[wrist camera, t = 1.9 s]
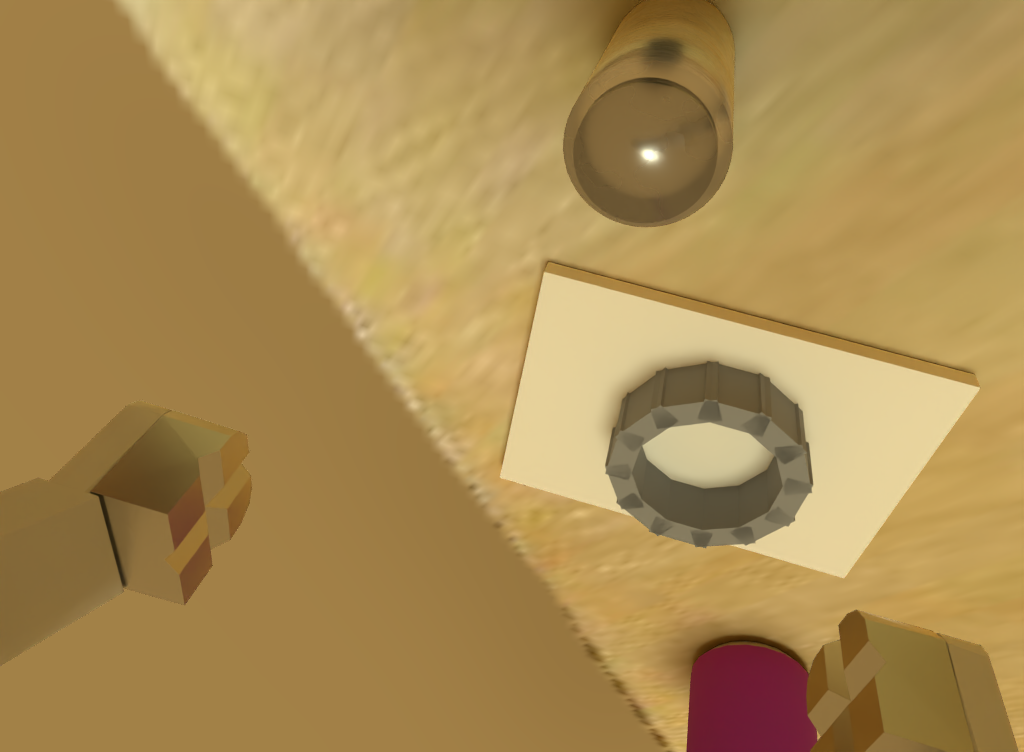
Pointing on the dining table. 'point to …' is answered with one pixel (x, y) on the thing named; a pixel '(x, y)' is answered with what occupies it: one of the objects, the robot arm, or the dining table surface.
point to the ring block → (722, 421)
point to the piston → (656, 115)
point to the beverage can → (748, 701)
